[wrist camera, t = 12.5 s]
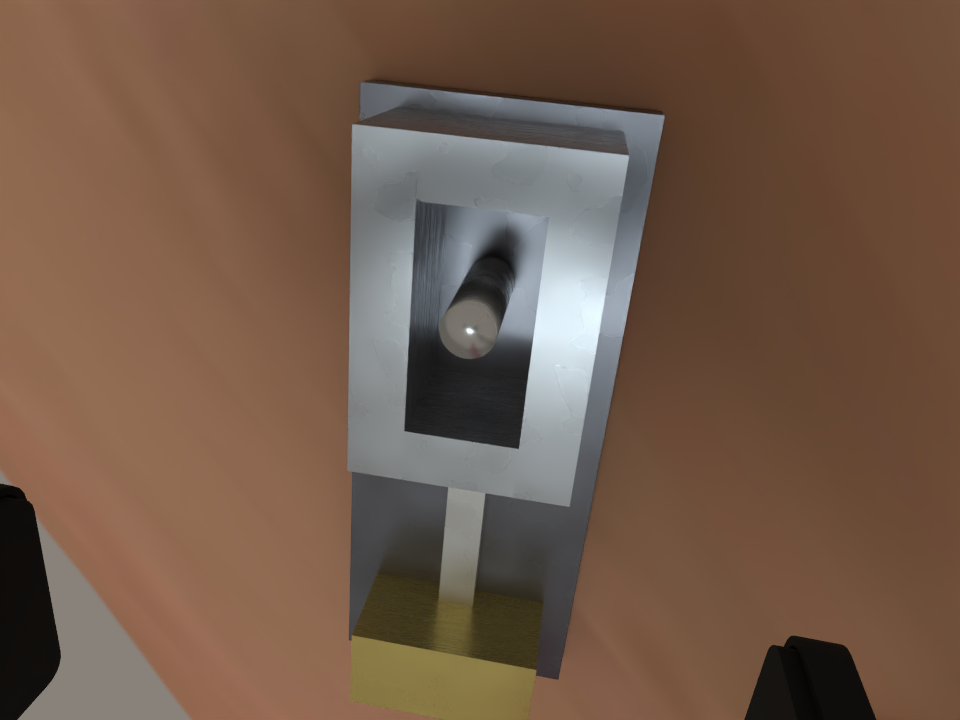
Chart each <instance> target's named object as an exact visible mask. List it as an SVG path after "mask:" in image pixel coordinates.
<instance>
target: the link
mask: <svg viewBox="0 0 960 720" xmlns="http://www.w3.org/2000/svg"><path fill="white" fill-rule="evenodd" d="M628 160H629V152H628V147H627V143H626V138H625V134H624V132H623V131H614V130H605V129H596V128H587V127H578V126H569V125H560V124H551V123H542V122H533V121H524V120H515V119H506V118H497V117H488V116H479V115H470V114H461V113H452V112H443V111H434V110H424V109H415V108H406V107H396V108H393V109H390V110H388V111H385V112H383V113H380V114H377V115H375V116H372V117H369V118H367V119H364V120H361V121H359V122H356V123H353V124H352V173H351V246H350V320H349V393H348V467H347V471H352V472H358V473H364V474H370V475H376V476H382V477H388V478H395V479H401V480H407V481H413V482H419V483H425V484H432V485H438V486H444V487H450V488H456V489H462V490H468V491H475V492H481V493H487V494H493V495H499V496H505V497H512V498H518V499H524V500H530V501H536V502H542V503H548V504H555V505H561V506H567V507H570V501H571V495H572V489H573V483H574V477H575V471H576V466H577V460H578V454H579V448H580V442H581V436H582V430H583V424H584V419H585V413H586V407H587V401H588V395H589V389H590V383H591V377H592V372H593V366H594V360H595V354H596V348H597V342H598V336H599V330H600V325H601V319H602V313H603V307H604V301H605V295H606V289H607V283H608V278H609V272H610V266H611V260H612V254H613V248H614V242H615V236H616V231H617V225H618V219H619V213H620V207H621V201H622V195H623V190H624V184H625V178H626V172H627V166H628ZM447 205H454V206H462V207H470V208H478V209H486V210H494V211H502V212H510V213H519V214H527V215H535V216H543V217H549V221H548V229H547V236H546V244H545V252H544V260H543V267H542V275H541V283H540V290H539V298H538V306H537V314H536V321H535V329H534V337H533V344H532V352H531V360H530V368H529V375H528V381H527V380H520V379H514V378H507V377H500V376H493V375H486V374H479V373H472V372H466V371H459V370H452V369H445V368H438V367H436V355H437V341H438V327H439V312H440V298H441V283H442V269H443V254H444V240H445V225H446V211H447Z"/></svg>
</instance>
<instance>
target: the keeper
mask: <svg viewBox="0 0 960 720" xmlns="http://www.w3.org/2000/svg"><path fill="white" fill-rule="evenodd" d="M396 107H406V108H415V109H424V110H434V111H443V112H452V113H461V114H470V115H479V116H488V117H497V118H506V119H515V120H524V121H533V122H542V123H551V124H560V125H569V126H578V127H587V128H596V129H605V130H614V131H623V132H624V134H625V138H626V143H627V147H628V152H629V160H628V166H627V172H626V178H625V184H624V190H623V195H622V201H621V207H620V213H619V219H618V225H617V231H616V236H615V242H614V248H613V254H612V260H611V266H610V272H609V278H608V283H607V289H606V295H605V301H604V307H603V313H602V319H601V325H600V330H599V336H598V342H597V348H596V354H595V360H594V366H593V372H592V377H591V383H590V389H589V395H588V401H587V407H586V413H585V419H584V424H583V430H582V436H581V442H580V448H579V454H578V460H577V466H576V471H575V477H574V483H573V489H572V495H571V501H570V507H567V506H561V505H555V504H548V503H542V502H536V501H530V500H524V499H518V498H512V497H505V496H499V495H493V494H487V493H481V492H475V491H468V490H462V489H456V488H450V487H444V486H438V485H432V484H425V483H419V482H413V481H407V480H401V479H395V478H388V477H382V476H376V475H370V474H364V473H358V472H352V518H351V567H350V616H349V640H351V641H352V646H351V690H350V701H353V702H358V703H363V704H368V705H373V706H378V707H383V708H388V709H393V710H398V711H403V712H408V713H413V714H419V715H424V716H429V717H434V718H439V719H444V720H528V717H529V711H530V706H531V700H532V694H533V688H534V682H535V676H542V677H547V678H552V679H558V678H559V673H560V667H561V662H562V657H563V652H564V646H565V641H566V636H567V630H568V625H569V620H570V614H571V609H572V604H573V599H574V593H575V588H576V583H577V577H578V572H579V567H580V562H581V556H582V551H583V546H584V540H585V535H586V530H587V525H588V519H589V514H590V509H591V503H592V498H593V493H594V488H595V482H596V477H597V472H598V466H599V461H600V456H601V451H602V445H603V440H604V435H605V429H606V424H607V419H608V413H609V408H610V403H611V398H612V392H613V387H614V382H615V376H616V371H617V366H618V361H619V355H620V350H621V345H622V339H623V334H624V329H625V324H626V318H627V313H628V308H629V302H630V297H631V292H632V287H633V281H634V276H635V271H636V265H637V260H638V255H639V249H640V244H641V239H642V234H643V228H644V223H645V218H646V212H647V207H648V202H649V197H650V191H651V186H652V181H653V175H654V170H655V165H656V160H657V154H658V149H659V144H660V138H661V133H662V128H663V123H664V117H665V115H664V114H663V113H662V112H660V111H651V110H642V109H633V108H624V107H615V106H606V105H597V104H588V103H579V102H570V101H561V100H552V99H543V98H534V97H525V96H516V95H507V94H498V93H488V92H479V91H470V90H461V89H452V88H443V87H434V86H425V85H416V84H407V83H398V82H389V81H380V80H367V81H362V82H360V121H361V120H364V119H367V118H369V117H372V116H375V115H377V114H380V113H383V112H385V111H388V110H390V109H393V108H396ZM548 221H549V217H543V216H535V215H527V214H519V213H510V212H502V211H494V210H486V209H478V208H470V207H462V206H454V205H447V211H446V225H445V240H444V254H443V269H442V283H441V298H440V312H439V327H438V341H437V355H436V367H438V368H445V369H452V370H459V371H466V372H472V373H479V374H486V375H493V376H500V377H507V378H514V379H520V380H527V381H528V375H529V368H530V360H531V352H532V344H533V337H534V329H535V321H536V314H537V306H538V298H539V290H540V283H541V275H542V267H543V260H544V252H545V244H546V236H547V229H548Z"/></svg>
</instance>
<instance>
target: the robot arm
mask: <svg viewBox="0 0 960 720" xmlns="http://www.w3.org/2000/svg"><path fill="white" fill-rule="evenodd" d="M60 659H61V653H60V646H59V641H58V635H57V630H56V625H55V619H54V614H53V609H52V603H51V597H50V592H49V586H48V581H47V576H46V570H45V565H44V560H43V554H42V549H41V543H40V538H39V532H38V527H37V521H36V516H35V511H34V508H33V505H32V504H31V503H30V502H29V501H27V499H26V497H25V494H24V492H23V491H22V490H21V489H20V488H17V487H14V486H10V485H5V484H0V720H17V719H18V718H19V717H20V716H21V715H22V714H23V713H24V711H25V710H26V709H27V708H28V707H29V706H30V705H31V704H32V702H33V701H34V700H35V699H36V698H37V697H38V696H39V695H40V693H41V692H42V691H43V690H44V689H45V688H46V687H47V685H48V684H49V683H50V682H51V680H52V679H53V678H54V676H55V674H56V672H57V670H58V667H59V664H60ZM745 720H876V718H875V715H874V713H873V710H872V708H871V705H870V703H869V700H868V697H867V695H866V692H865V690H864V687H863V684H862V682H861V679H860V677H859V674H858V671H857V669H856V666H855V664H854V661H853V659H852V656H851V654H850V652H849V650H848V649H847V648H846V647H845V646H844V645H841V644H835V643H830V642H825V641H820V640H814V639H809V638H804V637H799V636H790V637H789V638H788V639H787V641H786V643H785V645H784V647H782V646H776V645H772V646H771V647H770V648H769V650H768V652H767V655H766V657H765V660H764V663H763V666H762V669H761V672H760V675H759V678H758V681H757V684H756V687H755V690H754V693H753V696H752V699H751V702H750V705H749V708H748V711H747V714H746V717H745Z"/></svg>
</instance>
